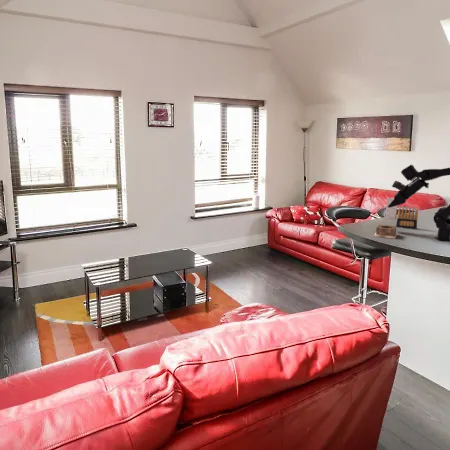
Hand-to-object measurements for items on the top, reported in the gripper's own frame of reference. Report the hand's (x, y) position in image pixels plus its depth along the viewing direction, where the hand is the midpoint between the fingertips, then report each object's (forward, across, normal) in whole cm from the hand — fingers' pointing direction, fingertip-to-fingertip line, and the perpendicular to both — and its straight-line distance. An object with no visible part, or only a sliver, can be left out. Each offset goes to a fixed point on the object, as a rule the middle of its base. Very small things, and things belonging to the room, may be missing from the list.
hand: (389, 206), depth 231 cm
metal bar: (+4, 0, +6) cm, 7 cm away
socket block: (+9, +12, +10) cm, 18 cm away
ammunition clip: (+4, -14, +16) cm, 21 cm away
